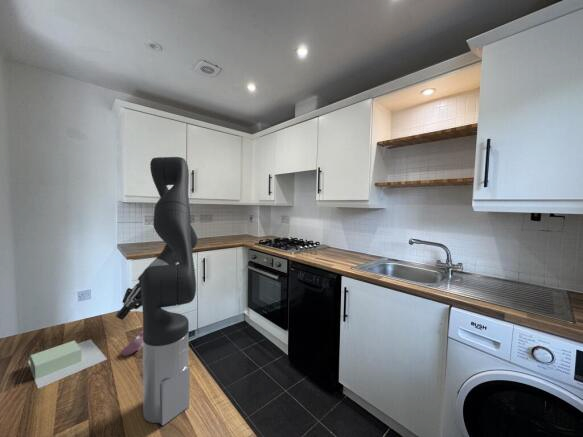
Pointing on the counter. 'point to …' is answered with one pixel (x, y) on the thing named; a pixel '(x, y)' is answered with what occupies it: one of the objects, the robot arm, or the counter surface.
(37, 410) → the counter surface
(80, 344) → the mat
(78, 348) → the block
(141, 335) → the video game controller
